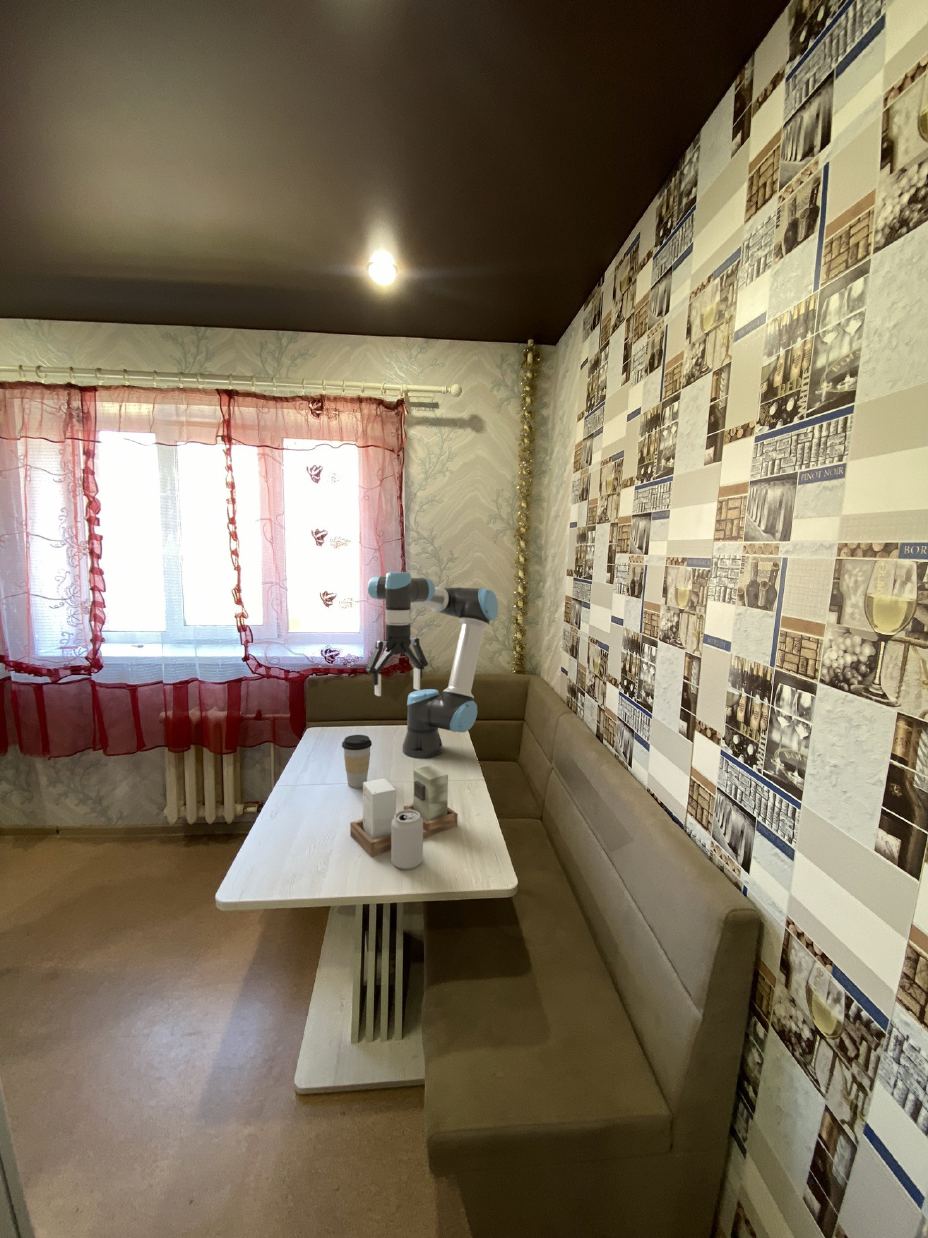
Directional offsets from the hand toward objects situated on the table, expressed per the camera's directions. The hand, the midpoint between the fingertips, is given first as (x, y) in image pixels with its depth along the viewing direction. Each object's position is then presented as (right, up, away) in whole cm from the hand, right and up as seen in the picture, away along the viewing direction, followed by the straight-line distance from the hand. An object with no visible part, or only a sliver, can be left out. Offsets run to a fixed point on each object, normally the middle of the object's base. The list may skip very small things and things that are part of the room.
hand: (397, 692), depth 159 cm
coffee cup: (-14, -31, +8) cm, 35 cm away
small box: (-2, -33, -24) cm, 41 cm away
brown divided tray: (+4, -34, -20) cm, 40 cm away
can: (+7, -36, -34) cm, 50 cm away
